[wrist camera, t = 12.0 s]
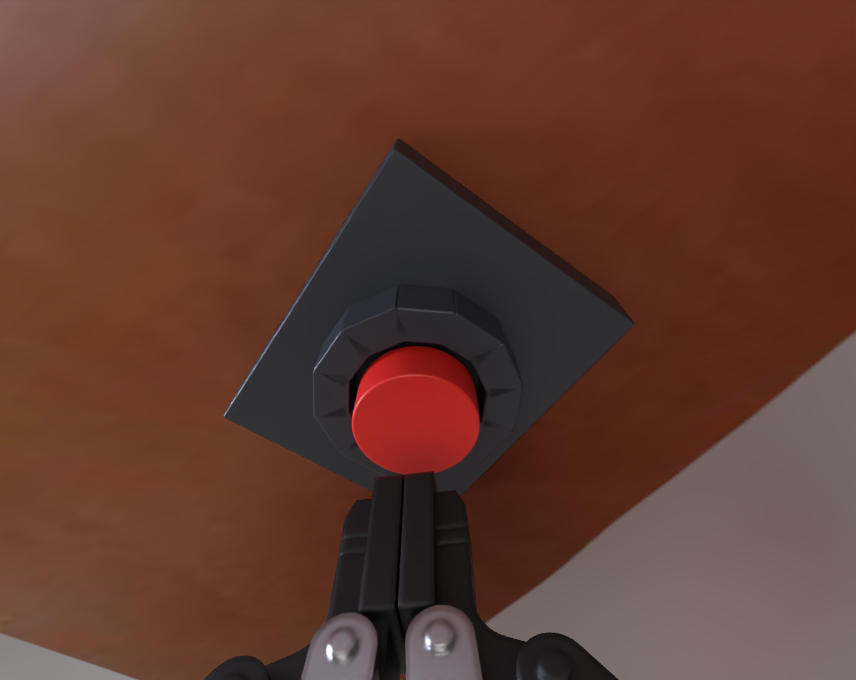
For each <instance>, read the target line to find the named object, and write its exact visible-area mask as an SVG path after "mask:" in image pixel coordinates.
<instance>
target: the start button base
mask: <svg viewBox="0 0 856 680" xmlns="http://www.w3.org/2000/svg"><path fill="white" fill-rule="evenodd" d="M633 325H634V322H633V321H632V319H631V318H630V317H629V316H628V314H627V313H626V312H625V310H624V309H623V308H622V307H621V305H620V304H619V303H618V301H617V300H616V299H615V298H614V297H613V296H612V295H610V294H609V293H608V292H606V291H605V290H603V289H602V288H601V287H599V286H598V285H597V284H595V283H594V282H593V281H591V280H590V279H589V278H587V277H586V276H584V275H583V274H582V273H580V272H579V271H578V270H576V269H575V268H574V267H572V266H571V265H570V264H568V263H567V262H566V261H564V260H563V259H561V258H560V257H559V256H557V255H556V254H555V253H553V252H552V251H551V250H549V249H548V248H547V247H545V246H544V245H542V244H541V243H540V242H538V241H537V240H536V239H534V238H533V237H532V236H530V235H529V234H528V233H526V232H525V231H524V230H522V229H521V228H519V227H518V226H517V225H515V224H514V223H513V222H511V221H510V220H509V219H507V218H506V217H505V216H503V215H502V214H501V213H499V212H498V211H496V210H495V209H494V208H492V207H491V206H490V205H488V204H487V203H486V202H484V201H483V200H482V199H480V198H479V197H477V196H476V195H475V194H473V193H472V192H471V191H469V190H468V189H467V188H465V187H464V186H463V185H461V184H460V183H459V182H457V181H456V180H454V179H453V178H452V177H450V176H449V175H448V174H446V173H445V172H444V171H442V170H441V169H440V168H438V167H437V166H435V165H434V164H433V163H431V162H430V161H429V160H427V159H426V158H425V157H423V156H422V155H421V154H419V153H418V152H417V151H415V150H414V149H412V148H411V147H410V146H408V145H407V144H406V143H404V142H403V141H402V140H400V139H396V141H395V142H394V144H393V146H392V147H391V149H390V150H389V152H388V153H387V155H386V157H385V158H384V160H383V161H382V163H381V165H380V166H379V168H378V169H377V171H376V172H375V174H374V176H373V177H372V179H371V180H370V182H369V184H368V185H367V187H366V188H365V190H364V191H363V193H362V195H361V196H360V198H359V199H358V201H357V203H356V204H355V206H354V207H353V209H352V210H351V212H350V214H349V215H348V217H347V218H346V220H345V222H344V223H343V225H342V226H341V228H340V229H339V231H338V233H337V234H336V236H335V237H334V239H333V241H332V242H331V244H330V245H329V247H328V248H327V250H326V252H325V253H324V255H323V256H322V258H321V260H320V261H319V263H318V264H317V266H316V267H315V269H314V271H313V272H312V274H311V275H310V277H309V278H308V280H307V282H306V283H305V285H304V286H303V288H302V290H301V291H300V293H299V294H298V296H297V297H296V299H295V301H294V302H293V304H292V305H291V307H290V309H289V310H288V312H287V313H286V315H285V316H284V318H283V320H282V321H281V323H280V324H279V326H278V328H277V329H276V331H275V332H274V334H273V335H272V337H271V339H270V340H269V342H268V343H267V345H266V347H265V348H264V350H263V351H262V353H261V354H260V356H259V358H258V359H257V361H256V362H255V364H254V366H253V367H252V369H251V370H250V372H249V373H248V375H247V377H246V378H245V380H244V381H243V383H242V384H241V386H240V388H239V390H238V391H237V393H236V395H235V397H234V398H233V400H232V402H231V403H230V405H229V407H228V409H227V410H226V412H225V414H224V418H226V419H228V420H230V421H232V422H234V423H236V424H238V425H240V426H242V427H244V428H246V429H248V430H250V431H252V432H254V433H256V434H258V435H260V436H262V437H264V438H266V439H268V440H270V441H272V442H274V443H276V444H278V445H280V446H282V447H284V448H286V449H288V450H290V451H292V452H294V453H296V454H298V455H300V456H302V457H304V458H306V459H308V460H310V461H312V462H314V463H316V464H318V465H320V466H322V467H324V468H326V469H328V470H330V471H332V472H334V473H336V474H338V475H340V476H342V477H344V478H346V479H348V480H350V481H352V482H354V483H356V484H358V485H360V486H362V487H364V488H367V489H369V490H371V491H373V487H374V480H375V478H376V477H382V476H392V475H402V474H400V473H396V472H393V471H390V470H387V469H385V468H383V467H381V466H379V465H377V464H376V463H374V462H373V461H372V460H370V459H369V458H368V457H367V456H366V455H365V454H364V453H363V452H362V450H361V449H360V448H359V446H358V444H357V442H356V440H355V438H354V435H353V431H352V415H353V410H354V405H355V401H356V396H357V392H358V387H359V383H360V380H361V378H362V375H363V374H364V372H365V371H366V369H367V368H368V367H369V366H370V364H371V363H372V362H374V361H375V360H376V359H377V358H379V357H380V356H382V355H383V354H385V353H387V352H389V351H392V350H395V349H398V348H402V347H408V346H425V347H431V348H435V349H438V350H441V351H444V352H446V353H448V354H449V355H451V356H453V357H454V358H456V359H457V360H458V361H459V362H461V363H462V364H463V365H464V366H465V368H466V369H467V370H468V371H469V373H470V375H471V377H472V379H473V381H474V384H475V389H476V395H477V402H478V409H479V417H480V431H479V435H478V439H477V441H476V443H475V445H474V447H473V448H472V450H471V451H470V452H469V454H468V455H467V456H466V457H465V458H464V459H463V460H462V461H460V462H459V463H457V464H456V465H454V466H452V467H451V468H449V469H446V470H444V471H441V472H437V473H434V474H435V479H436V485H437V491H438V492H443V491H453V490H456V492H457V493H458V495H459V496H461V495H462V494H463V493H464V492H465V491H466V490H467V489H468V488H469V487H470V486H471V485H472V484H473V483H474V482H475V481H476V480H477V479H478V478H479V477H480V476H481V475H482V474H483V473H484V472H485V471H486V470H487V469H488V468H489V467H490V466H491V465H492V464H493V463H494V462H495V461H496V460H497V459H498V458H499V457H500V456H501V455H502V454H503V453H505V452H506V451H507V450H508V449H509V448H510V447H511V446H512V445H513V444H514V443H515V442H516V441H517V440H518V439H519V438H520V437H521V436H522V435H523V434H524V433H525V432H526V431H527V430H528V429H529V428H530V427H531V426H532V425H533V424H534V423H535V422H536V421H537V420H538V419H539V418H540V417H541V416H542V415H543V414H544V413H545V412H546V411H547V410H548V409H549V408H550V407H551V406H552V405H553V404H554V403H555V402H556V401H557V400H558V399H559V398H560V397H561V396H562V395H563V394H564V393H565V392H566V391H567V390H568V389H569V388H570V387H571V386H573V385H574V384H575V383H576V382H577V381H578V380H579V379H580V378H581V377H582V376H583V375H584V374H585V373H586V372H587V371H588V370H589V369H590V368H591V367H592V366H593V365H594V364H595V363H596V362H597V361H598V360H599V359H600V358H601V357H602V356H603V355H604V354H605V353H606V352H607V351H608V350H609V349H610V348H611V347H612V346H613V345H614V344H615V343H616V342H617V341H618V340H619V339H620V338H621V337H622V336H623V335H624V334H625V333H626V332H627V331H628V330H629V329H630V328H631V327H632V326H633ZM404 475H405V474H404Z"/></svg>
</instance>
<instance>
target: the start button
mask: <svg viewBox="0 0 856 680" xmlns="http://www.w3.org/2000/svg"><path fill="white" fill-rule="evenodd" d="M352 431H353V435H354V438H355V440H356V442H357V444H358V446H359V448H360V449H361V450H362V452H363V453H364V454H365V455H366V456H367V457H368V458H369V459H370V460H372V461H373V462H374V463H376V464H377V465H379V466H381V467H383V468H385V469H387V470H390V471H393V472H396V473H400V474H410V473H420V472H430V471H434V473H437V472H441V471H444V470H446V469H449V468H451V467H452V466H454V465H456V464H457V463H459V462H460V461H462V460H463V459H464V458H465V457H466V456H467V455H468V454H469V452H470V451H471V450H472V448H473V447H474V445H475V443H476V441H477V439H478V435H479V431H480V417H479V409H478V402H477V395H476V389H475V384H474V381H473V379H472V377H471V375H470V373H469V371H468V370H467V369H466V368H465V366H464V365H463V364H462V363H461V362H459V361H458V360H457V359H456V358H454V357H453V356H451V355H449V354H448V353H446V352H444V351H441V350H438V349H435V348H431V347H425V346H408V347H402V348H398V349H395V350H392V351H389V352H387V353H385V354H383V355H382V356H380V357H379V358H377V359H376V360H375V361H374V362H372V363H371V364H370V366H369V367H368V368H367V369H366V371H365V372H364V374H363V375H362V378H361V380H360V383H359V387H358V392H357V396H356V401H355V405H354V410H353V415H352Z"/></svg>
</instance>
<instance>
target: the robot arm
mask: <svg viewBox="0 0 856 680" xmlns="http://www.w3.org/2000/svg"><path fill="white" fill-rule="evenodd" d="M339 552H340V555H339V556H338V562H337V568H336V573H335V579H334V584H333V590H332V596H331V601H330V607H329V612H328V616H327V620H326V622H325V623H324V624H323V625H322V626H321V627H320V628H319V629H318V630H317V632H316V633H315V635H314V637H313V639H312V641H311V643H310V644H309V645H307V646H306V647H305V648H303V649H302V650H300V651H298V652H296V653H294V654H292V655H290V656H288V657H285V658H283V659H281V660H278V661H276V662H274V663H271V664H269V665H267V666H264V664H263V663H262V662H261V661H260V660H259V659H257V658H255V657H252V656H239V657H235V658H232V659H229V660H227V661H226V662H224V663H222V664H221V665H219V666H218V667H217V668H216V669H214V670H213V671H212V672H211V673H210V674H209V675H208V676H207V677H206V678H205V679H204V680H400V674H405V673H406V678H407V680H618V679H617V678H616V677H615V676H614V675H613V674H612V673H610V672H609V671H608V670H607V669H606V668H605V667H604V666H603V665H602V664H600V663H599V662H598V661H597V660H596V659H595V658H594V657H593V656H592V655H590V654H589V653H588V652H587V651H586V650H585V649H584V648H583V647H582V646H580V645H579V644H578V643H577V642H575V641H574V640H573V639H571V638H569V637H567V636H565V635H562V634H558V633H541V634H538V635H536V636H534V637H532V638H530V639H529V640H528V641H527V642H525V641H521V640H517V639H513V638H509V637H506V636H503V635H501V634H498V633H497V632H494V631H493V630H491V629H490V628H489V627H487V625H486V624H485V623H484V622H483V621H482V620H481V618H480V617H479V615H478V613H477V606H476V595H475V584H474V573H473V562H472V551H471V542H470V535H469V528H468V520H467V513H466V506H465V504H464V503H463V501H462V499H461V498H460V496H459V495H458V493H457V492H456V490H453V491H443V492H438V491H437V485H436V479H435V474H434V471H430V472H420V473H410V474H405V475H404V474H402V475H392V476H382V477H376V478H375V480H374V487H373V495H372V499H365V500H356V502H355V503H354V505H353V506H352V508H351V510H350V511H349V513H348V514H347V516H346V517H345V523H344V528H343V534H342V540H341V545H340V551H339Z"/></svg>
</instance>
